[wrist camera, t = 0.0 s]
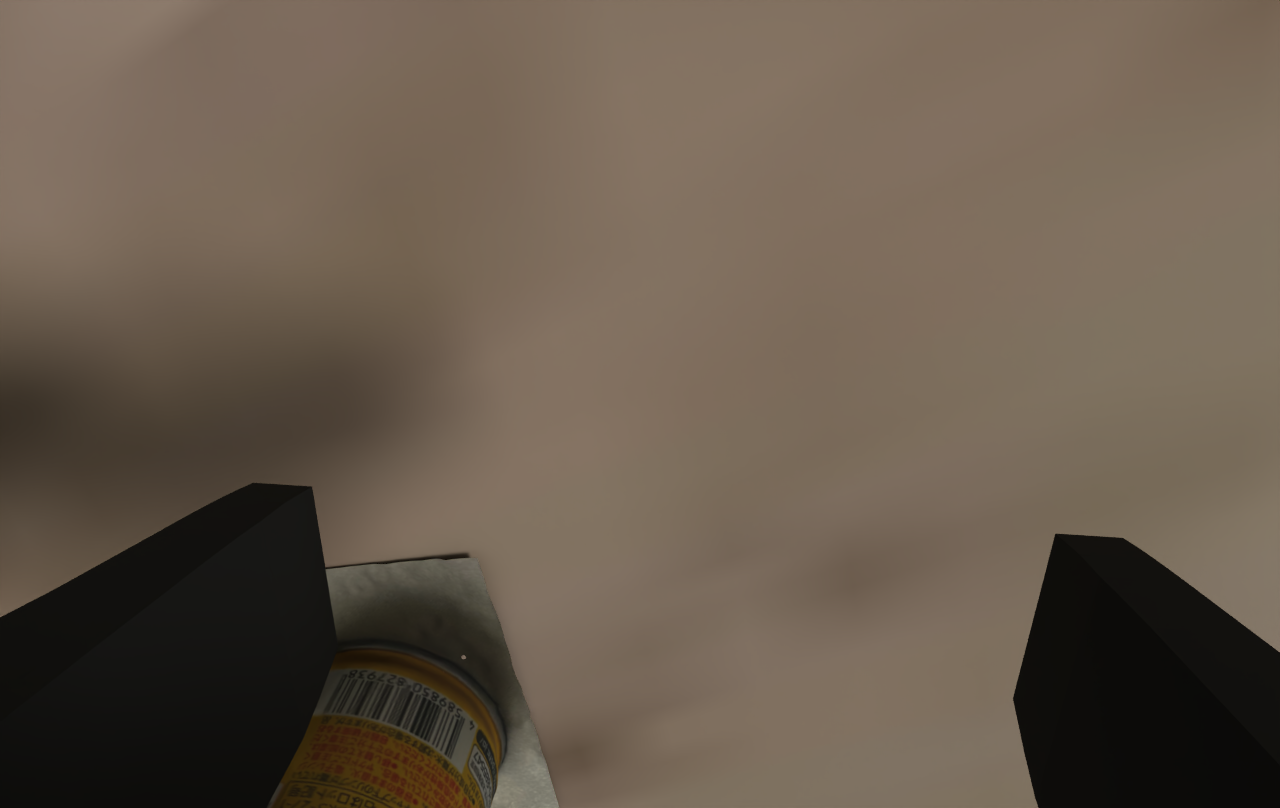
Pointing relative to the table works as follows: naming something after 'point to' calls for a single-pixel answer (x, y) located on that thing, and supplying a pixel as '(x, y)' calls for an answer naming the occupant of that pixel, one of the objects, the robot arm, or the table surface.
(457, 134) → the table surface
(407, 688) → the condiment
